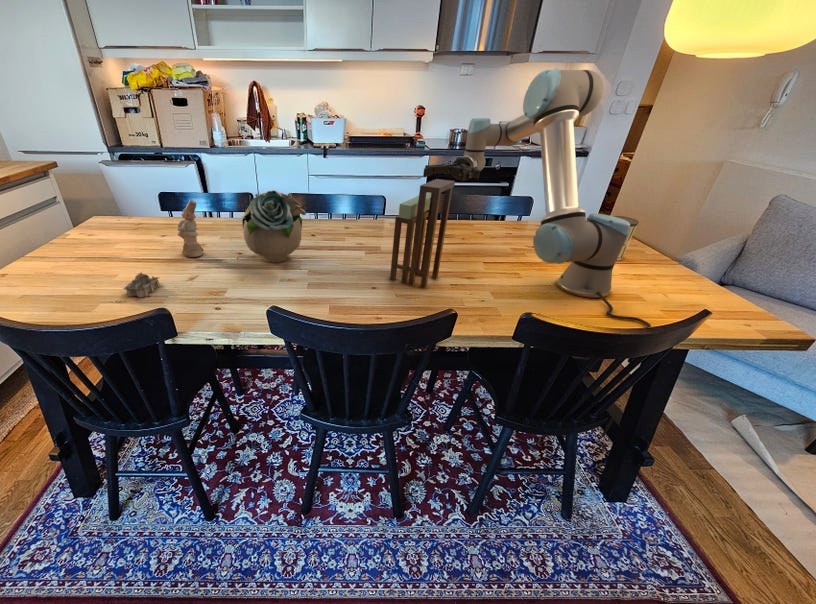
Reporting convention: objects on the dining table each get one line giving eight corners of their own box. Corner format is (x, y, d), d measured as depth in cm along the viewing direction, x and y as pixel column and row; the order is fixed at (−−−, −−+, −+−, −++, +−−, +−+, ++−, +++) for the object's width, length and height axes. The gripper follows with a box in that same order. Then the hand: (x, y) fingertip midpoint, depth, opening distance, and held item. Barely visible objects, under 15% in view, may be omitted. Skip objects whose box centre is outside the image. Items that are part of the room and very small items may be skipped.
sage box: (425, 204, 136) (426, 192, 134) (436, 206, 135) (437, 193, 132) (398, 217, 123) (399, 203, 121) (410, 219, 121) (411, 205, 119)
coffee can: (588, 250, 160) (602, 215, 152) (615, 251, 160) (630, 216, 152) (599, 260, 152) (615, 222, 144) (628, 261, 151) (644, 223, 143)
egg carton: (144, 282, 132) (141, 271, 129) (164, 285, 130) (161, 273, 128) (122, 296, 123) (119, 284, 121) (143, 299, 122) (140, 286, 119)
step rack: (405, 268, 144) (416, 176, 126) (439, 276, 138) (455, 181, 120) (389, 279, 135) (398, 182, 118) (424, 288, 129) (439, 188, 112)
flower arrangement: (319, 254, 154) (318, 188, 140) (281, 276, 137) (275, 202, 123) (269, 243, 165) (264, 180, 151) (227, 262, 147) (217, 193, 133)
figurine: (209, 252, 156) (199, 199, 144) (194, 259, 149) (183, 204, 138) (192, 249, 159) (181, 196, 147) (176, 256, 152) (164, 201, 141)
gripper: (494, 181, 147) (476, 190, 132) (431, 174, 158) (408, 182, 144) (499, 159, 142) (481, 166, 128) (434, 153, 154) (411, 159, 139)
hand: (442, 174), depth 136 cm, fingers open, 13 cm apart
